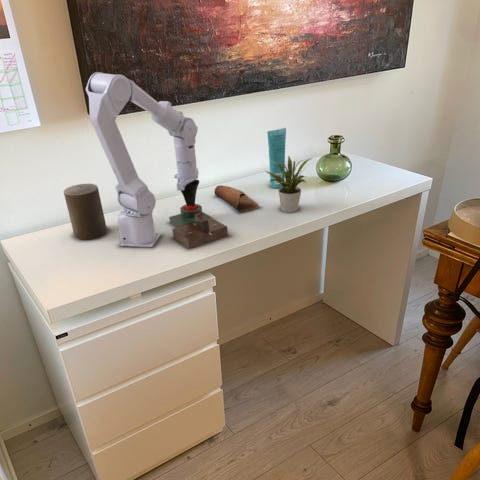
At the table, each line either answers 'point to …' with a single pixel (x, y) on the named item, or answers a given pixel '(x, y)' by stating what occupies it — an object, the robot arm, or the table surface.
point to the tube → (276, 153)
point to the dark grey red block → (201, 223)
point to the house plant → (289, 186)
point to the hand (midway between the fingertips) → (190, 205)
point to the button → (191, 207)
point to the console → (199, 233)
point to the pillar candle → (85, 211)
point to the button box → (186, 216)
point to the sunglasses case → (235, 198)
